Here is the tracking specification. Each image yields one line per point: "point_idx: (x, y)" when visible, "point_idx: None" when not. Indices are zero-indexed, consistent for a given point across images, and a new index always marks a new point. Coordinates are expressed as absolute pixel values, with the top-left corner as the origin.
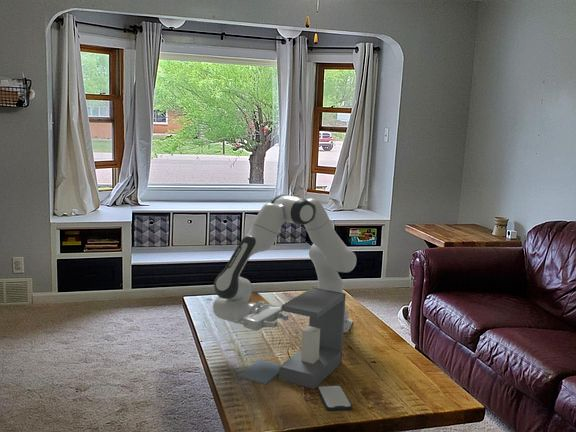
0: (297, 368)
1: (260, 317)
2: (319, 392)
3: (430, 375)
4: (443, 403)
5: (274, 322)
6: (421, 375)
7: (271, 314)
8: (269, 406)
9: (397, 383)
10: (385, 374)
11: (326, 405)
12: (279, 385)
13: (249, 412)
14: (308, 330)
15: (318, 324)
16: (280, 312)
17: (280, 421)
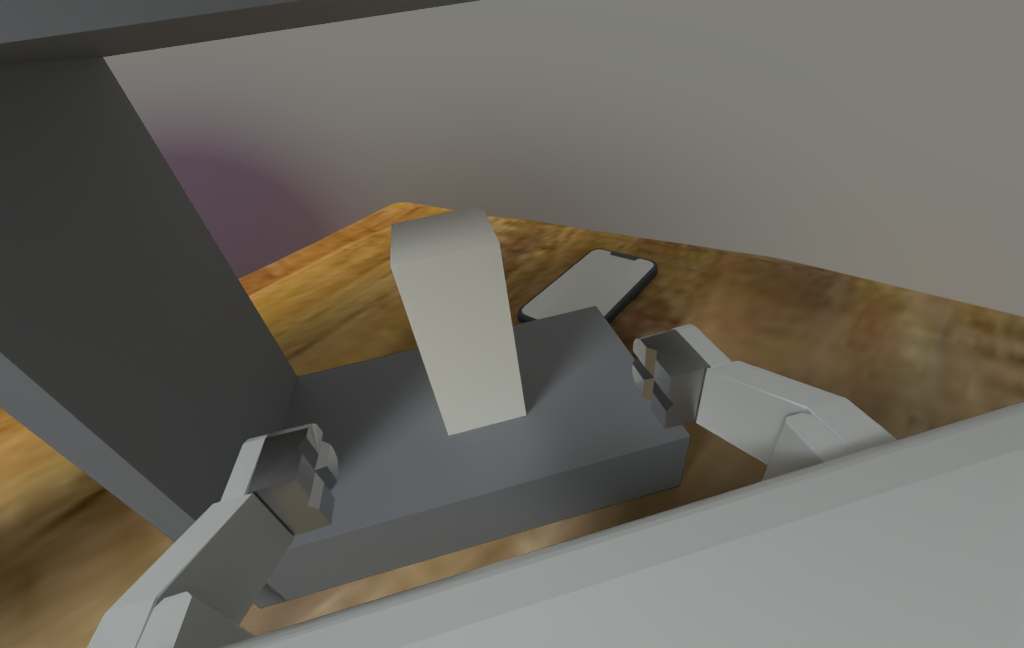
0: (612, 370)
1: (985, 560)
2: (608, 318)
3: (297, 265)
4: (423, 217)
5: (670, 341)
6: (306, 272)
7: (487, 569)
8: (847, 352)
9: (384, 274)
10: (343, 306)
11: (652, 269)
12: (714, 439)
13: (966, 361)
14: (474, 228)
15: (167, 382)
16: (104, 645)
17: (838, 289)
